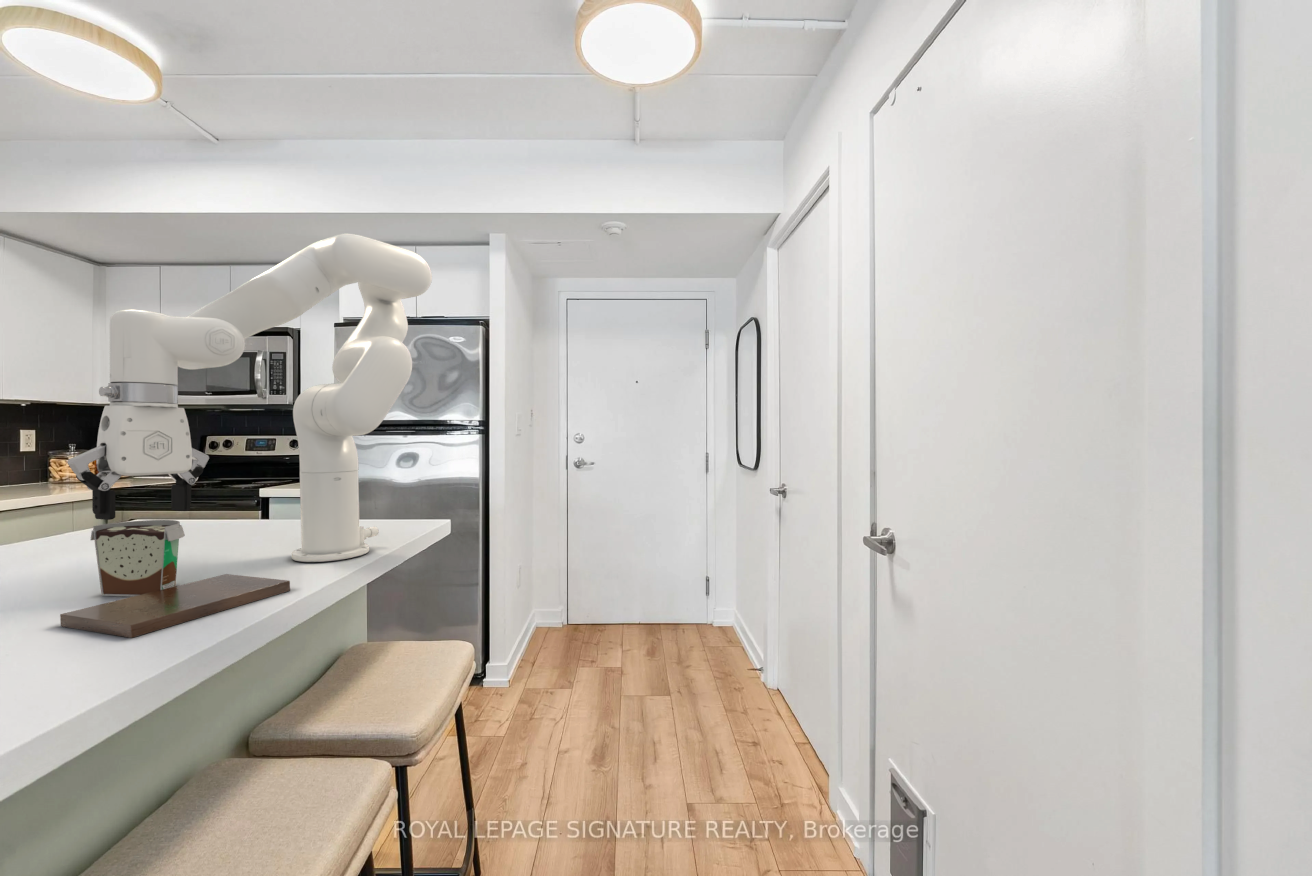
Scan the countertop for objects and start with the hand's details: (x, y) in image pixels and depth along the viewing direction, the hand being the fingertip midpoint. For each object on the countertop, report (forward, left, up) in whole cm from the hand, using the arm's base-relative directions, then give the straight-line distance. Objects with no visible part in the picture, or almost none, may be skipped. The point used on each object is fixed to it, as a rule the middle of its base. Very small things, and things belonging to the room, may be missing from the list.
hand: (144, 514), depth 86 cm
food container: (-1, 0, -12) cm, 12 cm away
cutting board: (+3, +14, -11) cm, 18 cm away
